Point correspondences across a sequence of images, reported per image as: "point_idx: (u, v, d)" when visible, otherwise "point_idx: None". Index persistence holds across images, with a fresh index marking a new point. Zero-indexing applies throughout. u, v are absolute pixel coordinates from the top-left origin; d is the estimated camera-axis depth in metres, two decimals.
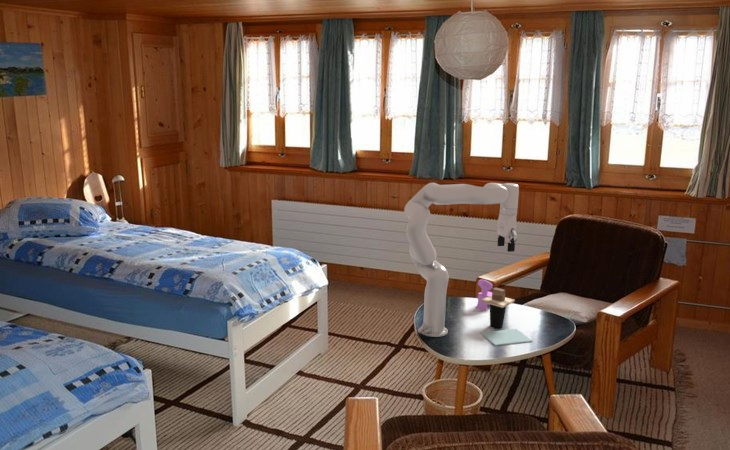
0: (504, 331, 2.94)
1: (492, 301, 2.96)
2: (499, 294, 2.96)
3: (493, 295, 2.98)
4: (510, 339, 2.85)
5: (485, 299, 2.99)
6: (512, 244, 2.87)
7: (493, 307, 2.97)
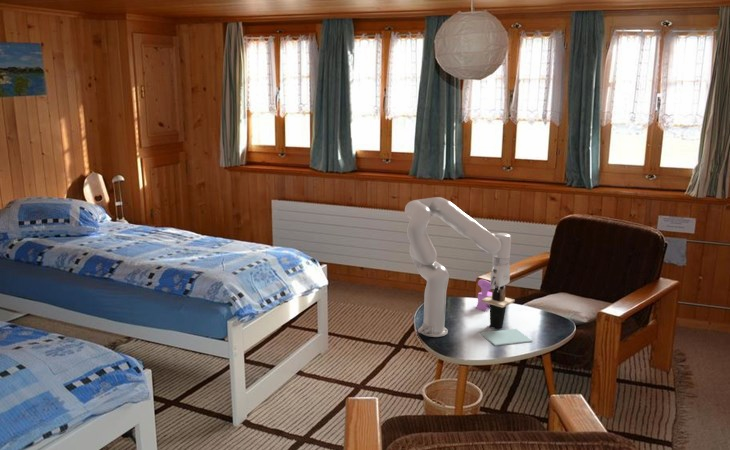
0: (504, 331, 2.94)
1: (492, 301, 2.96)
2: None
3: None
4: (510, 339, 2.85)
5: (485, 299, 2.99)
6: None
7: (493, 307, 2.97)
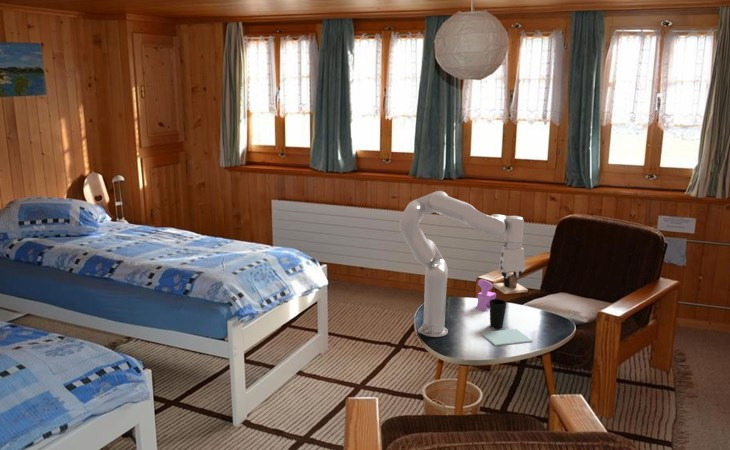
0: (504, 331, 2.94)
1: (501, 286, 2.83)
2: (509, 280, 2.81)
3: None
4: (510, 339, 2.85)
5: (497, 284, 2.86)
6: None
7: (493, 307, 2.97)
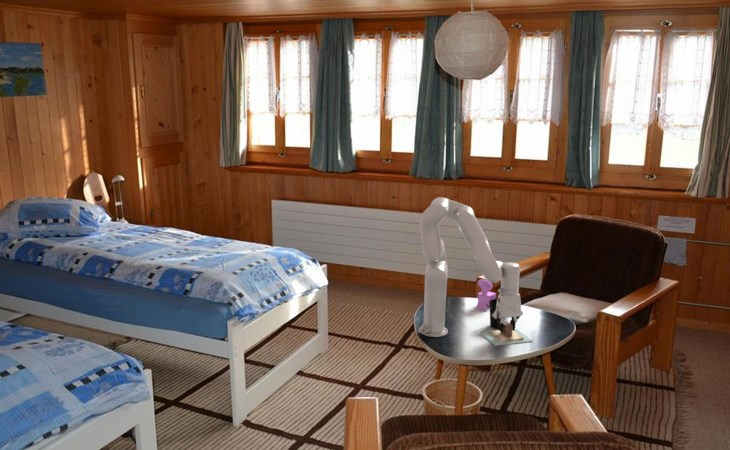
0: None
1: (497, 334, 2.88)
2: (505, 328, 2.86)
3: None
4: None
5: (493, 331, 2.91)
6: None
7: (493, 307, 2.97)
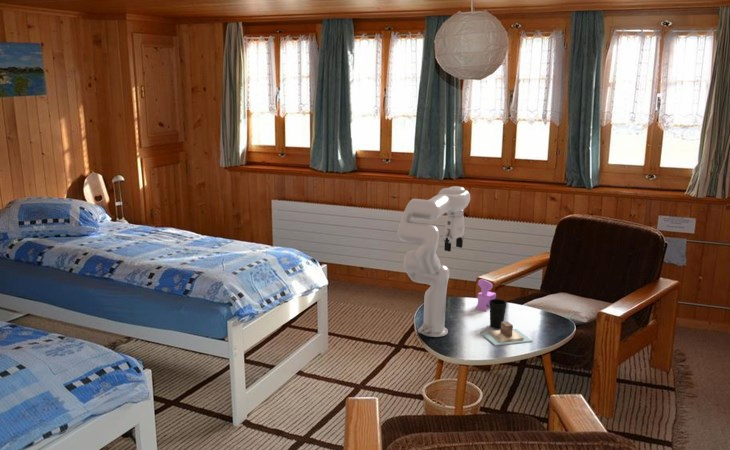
0: None
1: (497, 334, 2.88)
2: (505, 328, 2.86)
3: (501, 328, 2.89)
4: None
5: (493, 331, 2.91)
6: None
7: (493, 307, 2.97)
